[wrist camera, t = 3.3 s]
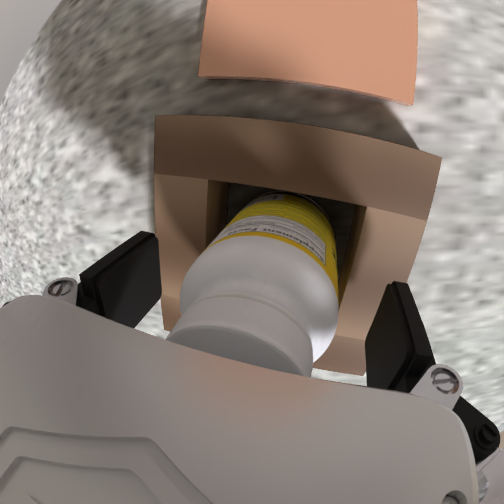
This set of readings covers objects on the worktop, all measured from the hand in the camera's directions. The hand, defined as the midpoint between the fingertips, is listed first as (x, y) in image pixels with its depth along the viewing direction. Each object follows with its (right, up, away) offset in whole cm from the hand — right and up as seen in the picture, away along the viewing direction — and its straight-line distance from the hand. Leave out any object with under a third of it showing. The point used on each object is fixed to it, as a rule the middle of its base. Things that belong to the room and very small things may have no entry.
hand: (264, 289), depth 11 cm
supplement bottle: (+1, +2, +5) cm, 5 cm away
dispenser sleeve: (+1, +2, +4) cm, 5 cm away
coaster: (+2, +14, -1) cm, 14 cm away
